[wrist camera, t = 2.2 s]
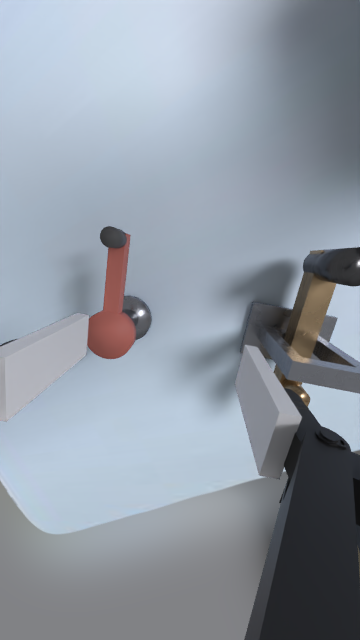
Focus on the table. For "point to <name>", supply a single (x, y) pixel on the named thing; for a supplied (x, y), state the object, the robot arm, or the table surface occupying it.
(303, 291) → the hook bar
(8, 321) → the table surface
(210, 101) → the table surface
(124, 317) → the red joystick lever
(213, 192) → the table surface
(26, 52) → the table surface
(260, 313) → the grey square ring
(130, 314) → the dark grey metal pedestal
